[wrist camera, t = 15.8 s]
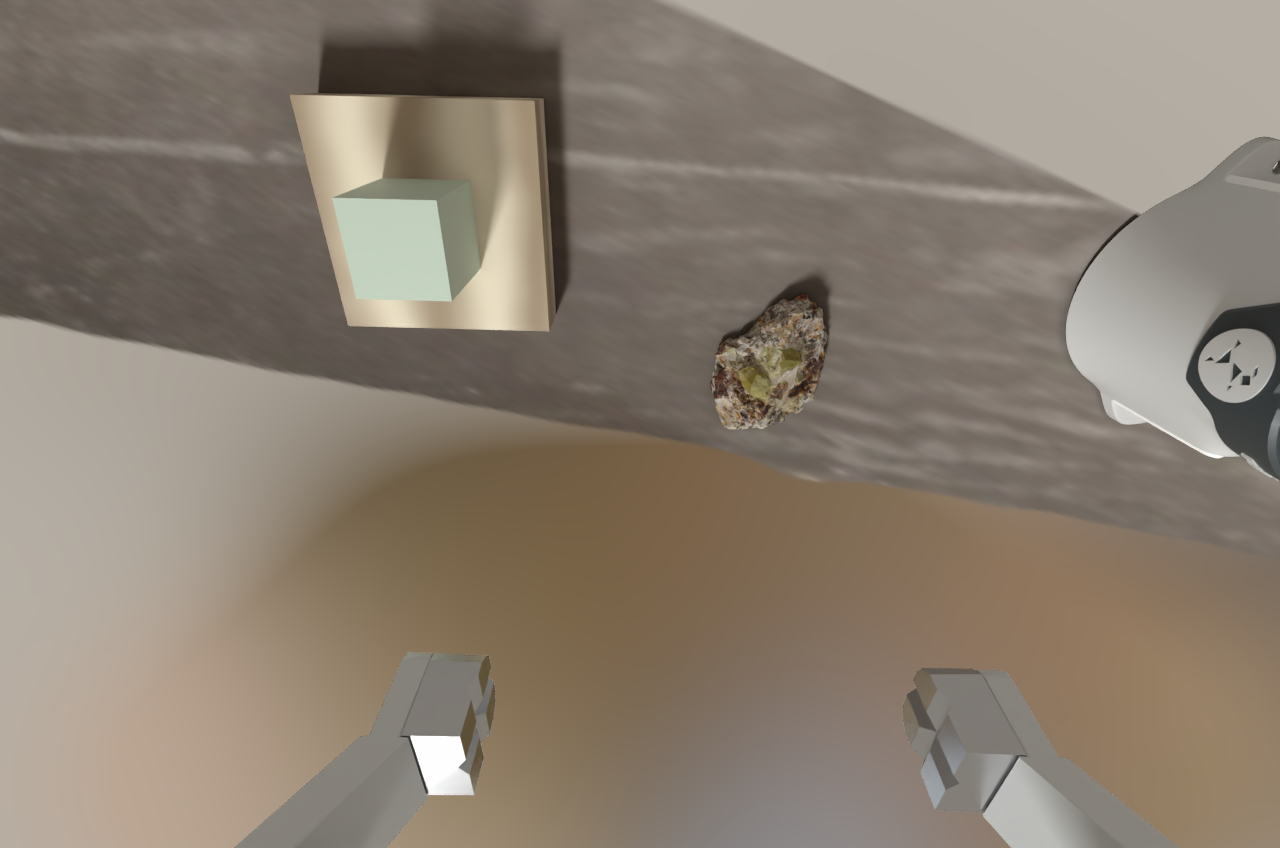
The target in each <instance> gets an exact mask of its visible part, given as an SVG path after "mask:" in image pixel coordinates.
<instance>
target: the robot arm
mask: <svg viewBox="0 0 1280 848" xmlns="http://www.w3.org/2000/svg"><path fill="white" fill-rule="evenodd" d="M1276 162H1278V164H1277V166H1276V167H1275V169H1273V167H1274V165H1275V164H1276ZM1066 341H1067V347H1068V351H1069V354H1070V357H1071V359H1072V361H1073V363H1074V364H1075V366H1076V368H1077V369H1078V370H1079V371H1080V372H1081V373H1082V375H1083V376H1085V377H1086V378H1087V379H1088V380H1089V381H1091V382H1092V383H1093V384H1094V385H1095V386H1096V387H1097V388H1098V389H1099V391H1100V392H1101V397H1102V401H1103V405H1104V408H1105V411H1106V413H1107V414H1108V416H1109V417H1111V418H1112V419H1114V420H1116V421H1118V422H1120V423H1122V424H1137V423H1145V422H1149V423H1150V424H1152V425H1154V426H1155V427H1157V428H1159V429H1161V430H1162V431H1164V432H1166V433H1167V434H1169V435H1171V436H1173V437H1174V438H1176V439H1178V440H1180V441H1181V442H1183V443H1185V444H1187V445H1188V446H1190V447H1192V448H1194V449H1195V450H1197V451H1199V452H1201V453H1203V454H1205V455H1207V456H1210V457H1214V458H1222V457H1224V456H1229V457H1231V456H1241V457H1243V458H1244V459H1246V460H1247V462H1248V463H1249V464H1250V465H1251V466H1253V467H1254V468H1256V469H1257V470H1259V471H1260V472H1262V473H1264V474H1265V475H1267V476H1269V477H1270V478H1274V479H1275V480H1277V481H1279V480H1280V140H1278V139H1274V138H1270V137H1259V138H1255V139H1253V140H1251V141H1249V142H1247V143H1245V144H1244V145H1242V146H1241V147H1240V148H1238V149H1237V150H1236V151H1234V152H1233V153H1232V154H1231V155H1230V156H1229V157H1227V158H1226V159H1225V160H1224V161H1223V162H1222V163H1221V164H1219V165H1218V166H1217V167H1216V168H1215V169H1214V170H1213V171H1212V172H1211V173H1210V174H1208V175H1207V176H1206V177H1205V178H1204V179H1203V180H1201V181H1199V182H1198V183H1196V184H1195V185H1193V186H1191V187H1190V188H1188V189H1186V190H1184V191H1182V192H1180V193H1178V194H1176V195H1174V196H1172V197H1170V198H1168V199H1166V200H1164V201H1162V202H1161V203H1159V204H1157V205H1155V206H1154V207H1152V208H1151V209H1149V210H1148V211H1146V212H1145V213H1143V214H1142V215H1140V216H1139V217H1138V218H1136V219H1135V220H1134V221H1132V222H1131V223H1130V224H1129V225H1127V226H1126V227H1125V228H1124V229H1123V230H1122V231H1121V232H1119V233H1118V234H1117V235H1116V236H1115V237H1114V238H1113V239H1112V240H1111V241H1110V242H1109V243H1108V244H1107V245H1106V246H1105V248H1104V249H1103V250H1102V251H1101V252H1100V253H1099V255H1098V256H1097V257H1096V258H1095V260H1094V261H1093V262H1092V264H1091V265H1090V267H1089V268H1088V270H1087V271H1086V273H1085V274H1084V276H1083V278H1082V280H1081V281H1080V283H1079V285H1078V287H1077V289H1076V292H1075V294H1074V296H1073V299H1072V302H1071V305H1070V308H1069V312H1068V317H1067V323H1066ZM490 670H491V663H490V659H489V656H483V655H463V654H442V653H422V652H408V653H407V654H406V656H405V657H404V658H403V659H402V661H401V663H400V665H399V668H398V670H397V672H396V675H395V677H394V679H393V682H392V684H391V686H390V688H389V691H388V693H387V695H386V698H385V700H384V702H383V704H382V707H381V709H380V712H379V714H378V716H377V718H376V721H375V723H374V725H373V728H372V730H371V732H370V734H369V736H360V737H359V738H358V739H357V740H356V741H354V742H353V743H352V744H351V745H350V746H349V747H348V748H347V749H345V750H344V751H343V752H342V753H341V754H340V755H339V756H338V757H336V758H335V759H334V760H333V761H332V762H331V763H329V764H328V765H327V766H326V767H325V768H324V769H323V770H322V771H320V772H319V773H318V774H317V775H316V776H315V777H314V778H313V779H311V780H310V781H309V782H308V783H307V784H306V785H305V786H304V787H302V788H301V789H300V790H299V791H298V792H297V793H296V794H294V795H293V796H292V797H291V798H290V799H289V800H288V801H287V802H285V803H284V804H283V805H282V806H281V807H280V808H279V809H277V810H276V811H275V812H274V813H273V814H272V815H271V816H269V817H268V818H267V819H266V820H265V821H264V822H263V823H262V824H261V825H259V826H258V827H257V828H256V829H255V830H254V831H252V832H251V833H250V834H249V835H248V836H247V837H246V838H245V839H244V840H242V841H241V842H240V843H239V844H238V845H237V846H236V847H235V848H387V847H388V845H389V844H390V843H391V841H393V839H394V838H395V837H396V836H397V834H398V833H399V832H400V831H401V830H402V828H403V827H404V826H405V825H406V824H407V822H408V821H409V820H410V819H411V817H412V816H413V815H414V814H415V812H416V811H417V810H418V809H419V808H420V806H421V805H422V804H423V803H424V801H425V800H426V799H427V795H474V794H475V789H476V786H477V782H478V778H479V774H480V770H481V766H482V762H483V758H484V757H483V752H482V747H481V742H482V741H483V740H484V739H485V738H486V737H487V736H488V735H489V734H490V730H491V726H492V721H493V715H494V708H495V685H494V681H492V680H491V679H490V678H489V674H490ZM913 681H914V683H915V686H916V689H915V690H913V691H911V692H910V693H908V694H907V696H906V698H905V701H904V704H903V723H904V728H905V732H906V735H907V738H908V741H909V743H910V746H911V747H912V748H913V750H915V751H916V752H917V753H918V754H919V755H920V756H921V757H922V758H923V759H924V761H923V764H922V767H921V770H920V773H921V775H922V777H923V780H924V783H925V785H926V788H927V791H928V793H929V796H930V798H931V801H932V803H933V806H934V809H935V810H944V811H962V812H977V813H984V814H983V817H984V818H985V819H986V820H987V821H988V822H989V823H990V824H991V826H992V827H993V828H994V829H995V830H996V831H997V832H998V833H999V834H1000V836H1001V837H1002V838H1003V839H1004V840H1005V841H1006V842H1007V843H1008V844H1009V845H1010V847H1011V848H1179V847H1178V846H1176V845H1175V844H1174V843H1173V842H1172V841H1170V840H1169V839H1168V838H1167V837H1165V836H1164V835H1163V834H1162V833H1160V832H1159V831H1158V830H1157V829H1155V828H1154V827H1153V826H1152V825H1150V824H1149V823H1148V822H1147V821H1145V820H1144V819H1143V818H1141V817H1140V816H1139V815H1138V814H1136V813H1135V812H1134V811H1133V810H1131V809H1130V808H1129V807H1128V806H1126V805H1125V804H1124V803H1123V802H1121V801H1120V800H1119V799H1118V798H1117V797H1115V796H1114V795H1113V794H1112V793H1110V792H1109V791H1108V790H1107V789H1105V788H1104V787H1103V786H1102V785H1100V784H1099V783H1098V782H1097V781H1095V780H1094V779H1093V778H1091V777H1090V776H1089V775H1088V774H1087V773H1085V772H1084V771H1083V770H1082V769H1080V768H1079V767H1078V766H1076V765H1075V764H1074V763H1073V762H1072V761H1070V760H1069V759H1068V758H1059V757H1058V755H1057V753H1056V752H1055V750H1054V748H1053V747H1052V745H1051V743H1050V742H1049V740H1048V738H1047V737H1046V735H1045V733H1044V732H1043V730H1042V728H1041V727H1040V725H1039V723H1038V722H1037V720H1036V718H1035V717H1034V715H1033V713H1032V712H1031V710H1030V708H1029V707H1028V705H1027V703H1026V702H1025V700H1024V699H1023V697H1022V695H1021V693H1020V692H1019V690H1018V689H1017V687H1016V685H1015V683H1014V682H1013V680H1012V678H1011V677H1010V676H1009V675H1008V674H1007V673H1006V672H1005V671H1001V670H973V669H952V668H947V669H946V668H921V669H920V670H918V671H917V672H916V674H915V676H914V679H913Z"/></svg>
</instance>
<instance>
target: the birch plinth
mask: <svg viewBox="0 0 1280 848" xmlns="http://www.w3.org/2000/svg"><path fill="white" fill-rule="evenodd" d="M290 98H291V102H292V106H293V110H294V114H295V118H296V122H297V126H298V130H299V134H300V137H301V141H302V145H303V149H304V153H305V157H306V161H307V165H308V169H309V173H310V177H311V181H312V185H313V189H314V193H315V197H316V201H317V205H318V208H319V212H320V216H321V220H322V224H323V228H324V232H325V236H326V240H327V244H328V248H329V252H330V256H331V260H332V264H333V268H334V272H335V276H336V279H337V283H338V287H339V291H340V295H341V299H342V303H343V307H344V311H345V315H346V319H347V323H348V326H373V327H410V328H448V329H485V330H523V331H550V328H551V326H552V323H553V321H554V318H555V316H556V307H555V289H554V272H553V254H552V237H551V219H550V202H549V184H548V167H547V149H546V131H545V114H544V98H504V97H462V96H421V95H380V94H339V93H309V94H293V95H290ZM381 178H397V179H437V180H470V182H471V190H472V199H473V207H474V215H475V223H476V231H477V240H478V248H479V256H480V264H481V269H480V270H479V271H478V272H477V273H476V275H475V276H474V277H473V278H472V279H471V280H470V281H469V283H468V284H467V285H466V286H465V287H464V288H463V289H462V290H461V292H460V293H459V294H458V295H457V296H456V297H455V298H454V300H453V301H415V300H377V299H356V296H355V292H354V287H353V283H352V279H351V275H350V271H349V267H348V262H347V258H346V254H345V250H344V246H343V242H342V237H341V233H340V229H339V225H338V221H337V217H336V212H335V208H334V204H333V200H332V198H333V197H335V196H338V195H340V194H343V193H345V192H348V191H350V190H353V189H356V188H358V187H361V186H363V185H366V184H368V183H371V182H373V181H376V180H379V179H381Z"/></svg>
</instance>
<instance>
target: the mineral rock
mask: <svg viewBox="0 0 1280 848" xmlns="http://www.w3.org/2000/svg"><path fill="white" fill-rule="evenodd" d="M827 330H828V329H827V327H826V326H824V324H823V310H822V309H821V308H820V307H817V306H816V303H815V302H812V301H809V298H808V296H807V294H801V295H799V296H797V297H796V298H795V299H793V300H792V301H789V300H786V299H783V300H781V301H779V302H777V303H776V304H774V305H772V306H771V307H769V308H767V310H766V311H765V312H764V314H763V315H762V316H761V317H759V318H758V319H757V320H756V322H755V325H754V326H753V327H752V328H751V329H750V330H749V331H748V332H747V333H746V334H743V335H740V336H739V337H738V338H737V339H731V338H727V339H726V340H725V341H724V342H722V343H720V347H719V348H718V353H717V354H716V355H715V356H716V365H715V371H714V372H713V374H712V378H711V382H710V387H711V391H712V393H713V395H714V399H715V402H716V409H717V412H718V414H719V417H720V419H721V422H722V424H723V425H724V426H725V427H726V428H727V429H736V430H738V429H740V428H742V429H743V430H745V429H748V428H749V427H752V428H760V429H763V428H766V427H767V426H770V425H772V424H776V423H778V422H782V421H783V420H785V417H786V416H787V415H788V413H789V412H791V411H794V412H795V413H798V412H800V411H801V410H802V409H803V407H802V405H803V403H805V402H809V401H811V400H813V399H814V391H815V390H816V388H817V384H819V378H820V374H819V372H820V367H821V366H822V365H823V363H824V361H823V359H824V358H825V353H824V345H825V343H826V342H827V341H828V336H827V332H826V331H827Z"/></svg>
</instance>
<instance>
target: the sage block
mask: <svg viewBox="0 0 1280 848" xmlns="http://www.w3.org/2000/svg"><path fill="white" fill-rule="evenodd" d="M332 200H333V204H334V208H335V212H336V217H337V221H338V225H339V229H340V233H341V237H342V242H343V246H344V250H345V254H346V258H347V262H348V267H349V271H350V275H351V279H352V283H353V287H354V292H355V296H356V299H377V300H415V301H453V300H454V298H455V297H456V296H457V295H458V294H459V293H460V292H461V290H462V289H463V288H464V287H465V286H466V285H467V284H468V283H469V281H470V280H471V279H472V278H473V277H474V276H475V275H476V273H477V272H478V271H479V270H480V269H481V264H480V256H479V248H478V240H477V231H476V223H475V215H474V207H473V199H472V190H471V182H470V180H437V179H397V178H381V179H379V180H376V181H373V182H371V183H368V184H366V185H363V186H361V187H358V188H356V189H353V190H350V191H348V192H345V193H343V194H340V195H338V196H335V197H333V198H332Z"/></svg>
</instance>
